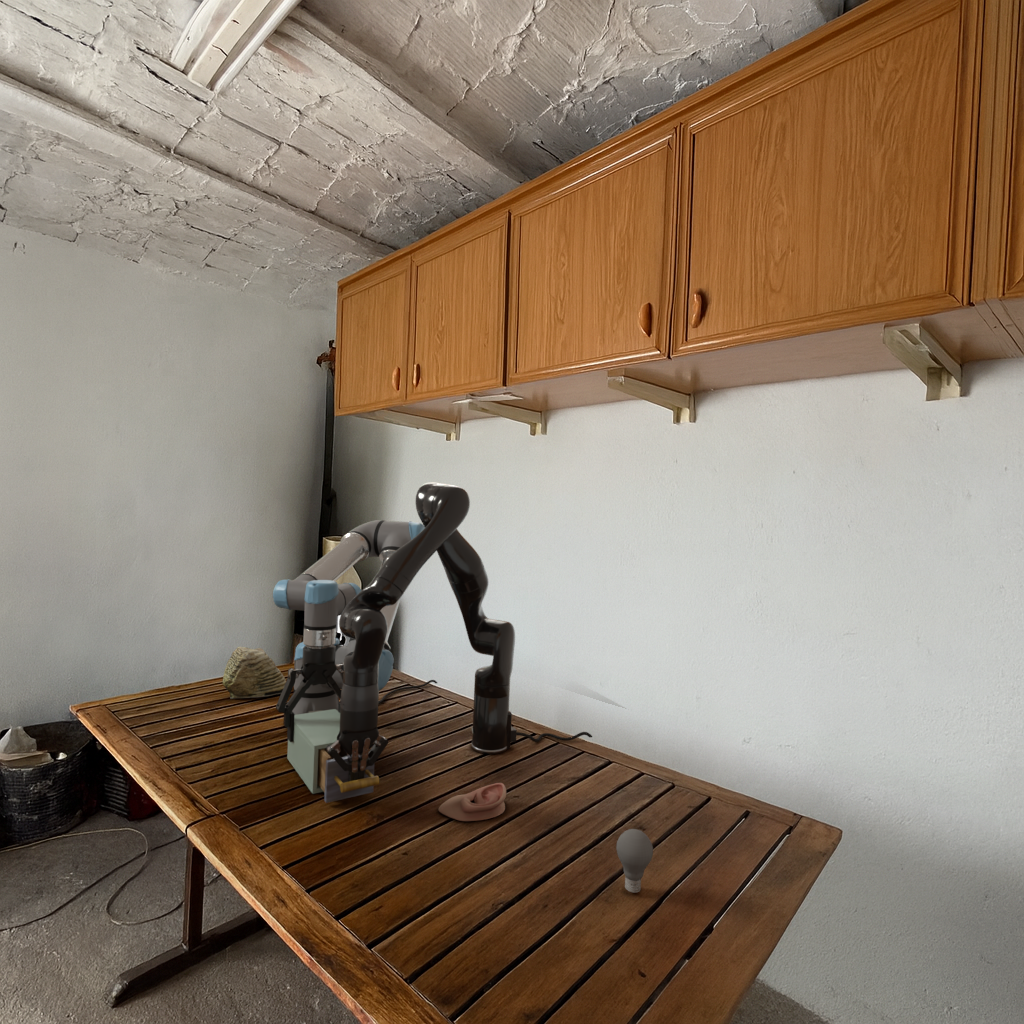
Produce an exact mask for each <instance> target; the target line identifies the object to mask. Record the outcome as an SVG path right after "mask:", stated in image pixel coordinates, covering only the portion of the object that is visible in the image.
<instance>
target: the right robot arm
mask: <svg viewBox="0 0 1024 1024" xmlns="http://www.w3.org/2000/svg"><path fill="white" fill-rule="evenodd" d="M470 507H471V500H470V496H469V494H468V492H467V491H466V490H465V488H463V487H460V486H457V485H453V484H448V483H442V482H425V483H423V484H422V485H421V486H419V488H418V490H417V492H416V495H415V509H416V513H417V515H418V517H419V519H420V522H421V524H423V525H424V527H425V528H424V530H423V531H421V532H420V533H419V534H418V535H417V536H416V537H414V538H413V539H412V540H410V541H409V542H407V543H406V544H405V545H403V546H402V547H400V548H399V549H398V550H396V551H395V552H394V553H393V554H392V555H391V556H390V557H389V558H388V559H387V560H386V561H385V563H384V564H383V565H382V567H381V566H380V567H381V568H380V567H379V570H378V571H377V572H376V574H375V575H374V577H373V578H372V580H371V581H370V582H369V584H368V585H366V586H365V587H364V588H363V589H361V590H362V591H361V592H360V593H358V594H357V595H356V596H355V597H354V598H353V599H352V600H351V601H350V602H349V603H348V604H347V606H346V607H345V608H344V610H343V612H342V614H341V615H339V621H338V625H339V626H338V627H339V630H340V632H341V633H342V635H344V636H345V637H347V638H349V639H350V638H352V639H355V640H356V644H355V649H354V651H353V652H350V653H348V654H347V655H346V656H345V659H344V665H343V685H342V689H341V699H339V702H340V731H339V734H338V736H337V741H336V742H335V743H333V744H332V745H328V746H327V747H326V750H327V751H328V753H329V754H330V755H331V756H332V757H333V758H334V760H335V761H336V762H337V763H338V764H339V765H340V766H341V768H342V769H343V770H344V771H349V774H348V782H349V781H354V780H358V779H363V778H364V771H365V769H366V767H368V766H373V765H374V766H375V764H376V762H377V761H378V759H379V757H380V756H381V755H382V753H383V752H384V750H385V749H386V747H387V746H388V744H389V740H388V739H387V738H386V737H385V736H383V735H381V734H380V731H379V729H378V724H379V723H378V721H379V704H378V701H380V700H379V699H380V691H379V688H378V672H379V660H380V657H381V654H382V651H383V647H384V643H385V640H386V636H387V621H386V618H385V616H384V614H383V613H382V612H381V611H380V610H381V609H382V608H384V607H385V606H389V605H394V604H396V603H397V602H398V601H399V600H400V601H401V599H402V597H403V595H404V594H405V592H406V591H407V590H408V588H409V586H410V585H411V583H412V582H413V581H414V579H415V578H416V576H417V575H418V573H419V572H420V570H421V569H422V568H423V567H424V565H425V564H426V563H427V562H428V561H429V560H430V559H431V557H432V556H433V555H434V554H435V553H437V555H438V558H439V560H440V562H441V564H442V566H443V570H444V572H445V575H446V578H447V580H448V583H449V586H450V588H451V591H452V592H453V594H454V597H455V599H456V601H457V605H458V607H459V610H460V613H461V616H462V620H463V622H464V626H465V631H466V634H467V638H468V641H469V644H470V646H471V648H472V650H473V651H474V652H475V653H478V654H481V655H485V656H491V657H492V663H491V664H490V665H485V666H482V667H479V668H477V669H476V670H475V672H474V686H473V687H474V688H473V689H474V690H473V708H472V709H473V710H472V712H473V713H472V726H471V745H470V747H471V749H472V750H473V751H475V752H476V753H480V754H484V755H497V754H503V753H505V752H506V751H508V750H511V744H512V743H516V742H517V737H518V736H519V737H525V738H528V739H529V740H530V741H532V742H534V743H539V742H540V741H541V739H542V738H544V737H549V738H554V739H556V740H557V741H558V740H559V741H562V742H568V741H573V740H576V739H578V738H579V737H583V736H587V737H588V738H593V735H592V734H591V733H589V732H587V731H580V732H579V733H577V734H575V735H572V736H569V737H563V736H559V735H557V734H553V733H549V732H543V733H541V734H539V736H537V738H534V737H533V736H532V735H530V734H528V733H525V732H519V731H517V729H516V728H515V727H514V726H512V721H513V718H512V716H513V713H512V712H511V711H510V697H511V696H510V695H511V693H510V692H511V676H512V674H513V673H512V672H513V666H514V656H515V655H514V654H515V646H516V645H515V644H516V630H515V627H514V625H513V624H512V623H511V622H510V621H506V620H500V619H494V618H489V617H488V616H487V615H486V614H485V611H484V609H483V601H484V599H485V597H486V595H487V592H488V589H489V576H488V573H487V571H486V568H485V565H484V562H483V560H482V558H481V556H480V554H479V553H478V552H477V551H476V549H475V548H474V547H473V546H472V545H471V544H470V543H469V541H468V540H467V539H466V538H465V537H464V536H463V534H462V533H461V532H460V531H459V530H458V528H459V527H460V526H461V524H462V523H463V522H464V521H465V519H466V517H467V516H468V514H469V511H470ZM400 598H401V599H400ZM571 737H572V738H571ZM340 745H341V746H342V748H343V749H344V750H345V752H346V753H347V757H348V762H345V761H344V760H343V759H342V757H341V756H340V755H339V753H340V751H341V750H340Z"/></svg>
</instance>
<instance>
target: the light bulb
mask: <svg viewBox="0 0 1024 1024" xmlns="http://www.w3.org/2000/svg"><path fill="white" fill-rule="evenodd" d="M615 849H616V854H617V857H618V859H619V861H620V863H621V865H622V867H623V873H624V874H623V875H624V876H625V878H624V888H625V890H627V891H628V892H630V893H634V894H635V893H639V892H640V891H641V889H642V887H641V886H642V879H643V877H644V875H645V871H646V868H647V867H648V866H649V864H650V863H651V861H652V859H653V855H654V847H653V843H652V841H651V838H649V836H648V835H647V834H646V833H645V832H643V831H642V830H641V829H636V828H629V829H627V830H625V831H623V832H622V833H621V834H620V835H619V837H618V839H617V841H616V847H615Z"/></svg>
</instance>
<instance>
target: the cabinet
mask: <svg viewBox="0 0 1024 1024" xmlns="http://www.w3.org/2000/svg"><path fill="white" fill-rule="evenodd" d="M339 731H340V713H339V712H338V711H337V710H336V709H331V710H325V711H318V712H311V713H305V714H298V715H295V716H294V741H293V742H290V741H289V740H288V739H287V755H286V758H287V760H288V761H289V763H290V764H291V766H292V767H293V769H294V770H295V772H296V773H297V775H298V777H300V779H301V780H302V781H303V783H304V784H305V785H306V787H307V789H308V790H309V791H310V793H311V794H312V795H315V794H319V793H324V791H323V790H322V789H321V787H320V786H319V785H318V784H317V776H318V749H323V748H326V747H327V746H328V745H332V744H333V743H335V742H336V741H337V736H338V734H339Z"/></svg>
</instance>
